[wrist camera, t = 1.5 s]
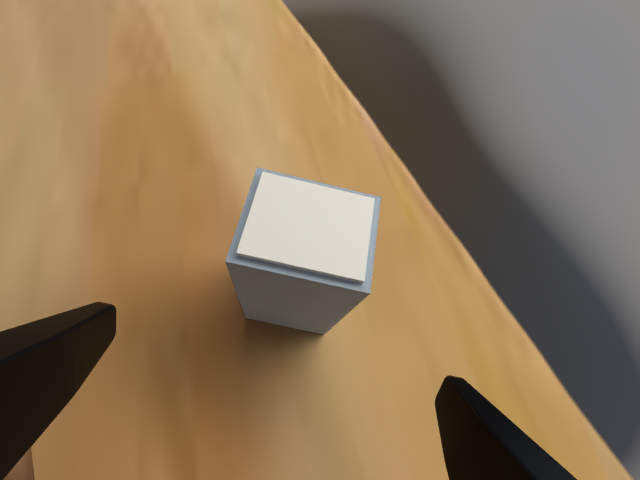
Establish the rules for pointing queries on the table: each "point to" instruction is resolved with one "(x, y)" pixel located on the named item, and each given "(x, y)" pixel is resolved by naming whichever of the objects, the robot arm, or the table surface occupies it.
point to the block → (22, 468)
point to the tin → (302, 251)
